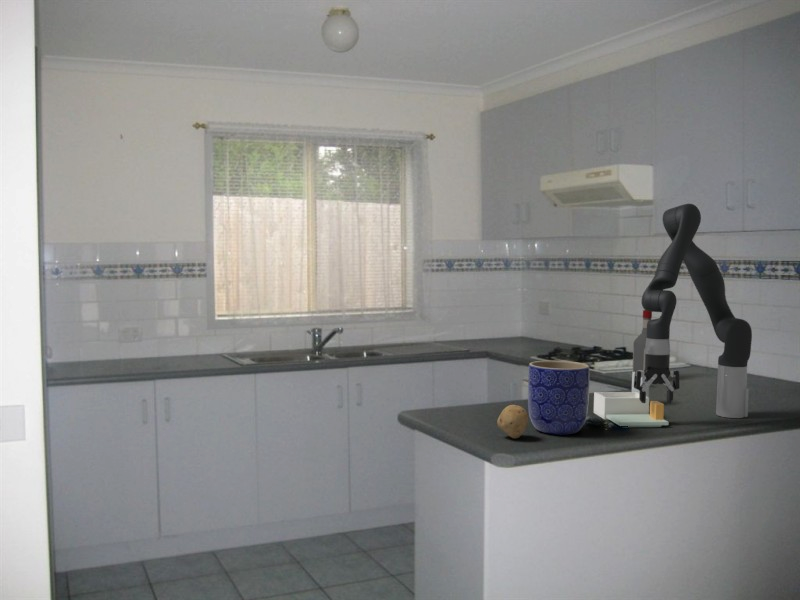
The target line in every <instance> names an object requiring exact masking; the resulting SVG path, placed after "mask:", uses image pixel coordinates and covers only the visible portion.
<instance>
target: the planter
mask: <svg viewBox="0 0 800 600" xmlns="http://www.w3.org/2000/svg"><path fill="white" fill-rule="evenodd" d="M590 373H591V371H590V365H588V364H586V363H583V362H578V361H571V360H570V361H569V360H538V361H537V360H536V361H532V362H530V363H528V374H527V375H528V381H527V383H528V385H527V401H528V402H527V406H528V407H527V408H528V417H529V419H530V421H531V423H532V425H533V427H534V428H535V429H536V430H537V431H539V432H541V433H544V434H549V435H557V436H559V435H560V436H568V435H574V434H576V433H578V432H579V431H580V430H581V429H582V428H583V426H584V425H585V423H586V421H587V418H588V413H589V412H588V411H589V399H590V376H591V375H590Z"/></svg>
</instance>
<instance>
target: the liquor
mask: <svg viewBox="0 0 800 600" xmlns="http://www.w3.org/2000/svg"><path fill="white" fill-rule="evenodd" d="M652 317H653V312H650V311H646V310H645V309H643V310H642V330H641V333H640V334H639V335H638V336H637V337H636V338H635V339H634V341H633V349H632V350H633V352H632V372H635V371H636V370H638V371H639V370H640V371H644V370H645V346H646V338H647V322H648V321H649V320H652Z"/></svg>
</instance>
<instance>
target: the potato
mask: <svg viewBox="0 0 800 600" xmlns="http://www.w3.org/2000/svg"><path fill="white" fill-rule="evenodd" d="M496 422H497V426H498V428H499V429H500V430H501V431H503V432H504V433H506V435H508V437H509V438H512V439H518V438H520V437H521V436H522V435H523V434H524V432H525V431H526V429H527V427H528V423H529V413H528V412H527V411H526V409H525V408H524V407H522V406H520V405H517V404H510V405H507V406H506V407H504V408H503V410H502V411H501V412H500V415H499V416H498V418H497V421H496Z"/></svg>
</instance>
